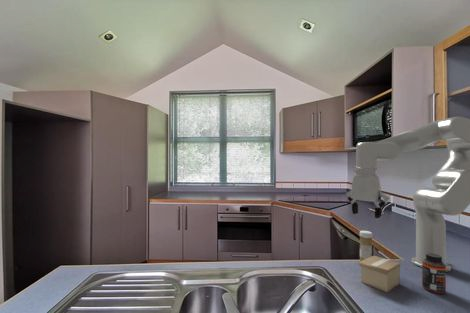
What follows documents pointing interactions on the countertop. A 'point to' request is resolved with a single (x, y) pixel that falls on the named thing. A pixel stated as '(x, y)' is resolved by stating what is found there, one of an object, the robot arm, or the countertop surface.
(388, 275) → the box
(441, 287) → the supplement bottle
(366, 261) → the lid
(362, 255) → the sprinkles bottle
